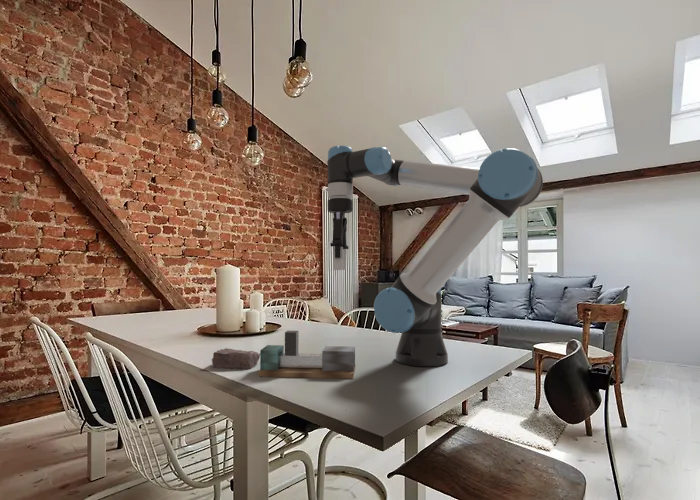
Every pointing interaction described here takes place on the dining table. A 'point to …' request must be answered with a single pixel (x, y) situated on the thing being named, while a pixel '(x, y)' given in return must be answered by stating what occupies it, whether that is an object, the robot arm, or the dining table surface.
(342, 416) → the dining table surface
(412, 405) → the dining table surface
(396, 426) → the dining table surface
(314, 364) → the grey bar with post
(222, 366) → the stone
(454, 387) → the dining table surface
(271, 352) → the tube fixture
